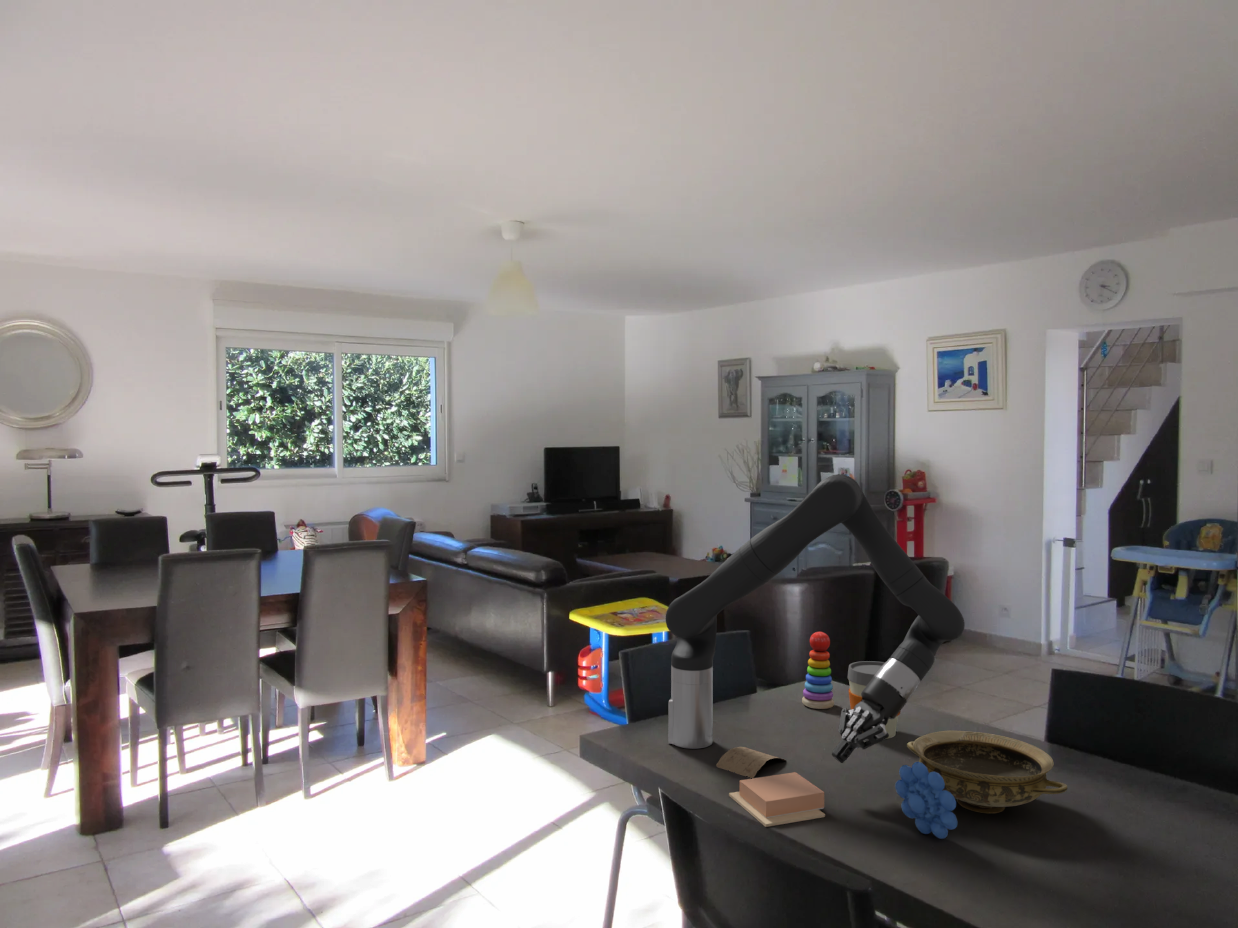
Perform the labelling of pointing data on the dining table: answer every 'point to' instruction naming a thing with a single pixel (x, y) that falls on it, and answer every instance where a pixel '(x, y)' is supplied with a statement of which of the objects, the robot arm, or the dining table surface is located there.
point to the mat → (777, 819)
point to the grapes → (926, 800)
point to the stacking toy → (818, 674)
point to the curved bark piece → (744, 761)
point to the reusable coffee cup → (858, 681)
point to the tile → (781, 794)
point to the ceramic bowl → (986, 768)
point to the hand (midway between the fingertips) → (836, 759)
